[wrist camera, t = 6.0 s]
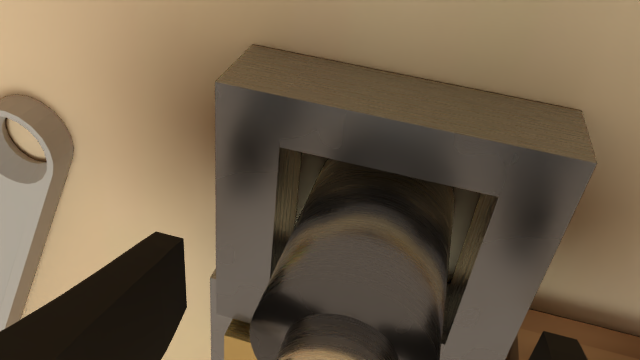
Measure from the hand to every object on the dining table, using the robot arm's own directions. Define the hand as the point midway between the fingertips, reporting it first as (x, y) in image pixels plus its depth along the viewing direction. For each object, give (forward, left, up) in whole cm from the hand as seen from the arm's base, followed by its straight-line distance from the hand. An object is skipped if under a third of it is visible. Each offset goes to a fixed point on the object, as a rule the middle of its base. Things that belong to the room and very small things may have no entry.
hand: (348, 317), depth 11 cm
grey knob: (0, 0, -4) cm, 4 cm away
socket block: (0, +2, -4) cm, 5 cm away
